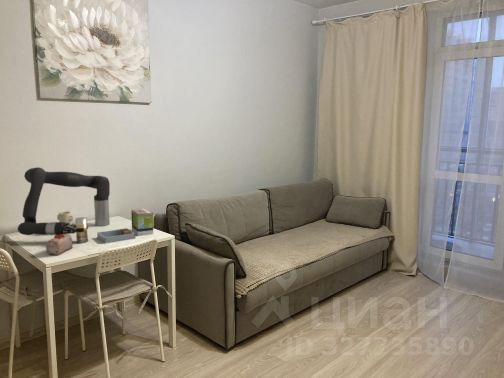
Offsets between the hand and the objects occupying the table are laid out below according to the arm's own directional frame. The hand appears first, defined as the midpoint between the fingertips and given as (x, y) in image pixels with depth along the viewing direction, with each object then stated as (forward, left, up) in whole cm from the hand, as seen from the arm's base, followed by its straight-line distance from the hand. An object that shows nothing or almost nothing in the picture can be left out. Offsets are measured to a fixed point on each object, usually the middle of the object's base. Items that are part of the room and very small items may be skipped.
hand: (85, 228), depth 239 cm
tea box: (+1, +34, -8) cm, 35 cm away
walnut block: (+5, +22, -7) cm, 24 cm away
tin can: (-1, -2, -8) cm, 8 cm away
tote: (+5, +16, -8) cm, 18 cm away
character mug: (-27, -5, -8) cm, 29 cm away
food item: (+11, -17, -8) cm, 22 cm away
